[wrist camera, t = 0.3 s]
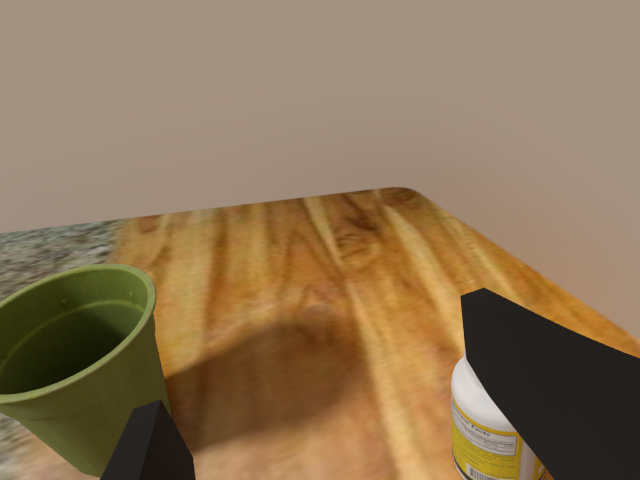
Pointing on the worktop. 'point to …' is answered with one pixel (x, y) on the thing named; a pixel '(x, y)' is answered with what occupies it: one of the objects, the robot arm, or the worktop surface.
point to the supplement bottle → (486, 434)
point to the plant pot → (80, 359)
